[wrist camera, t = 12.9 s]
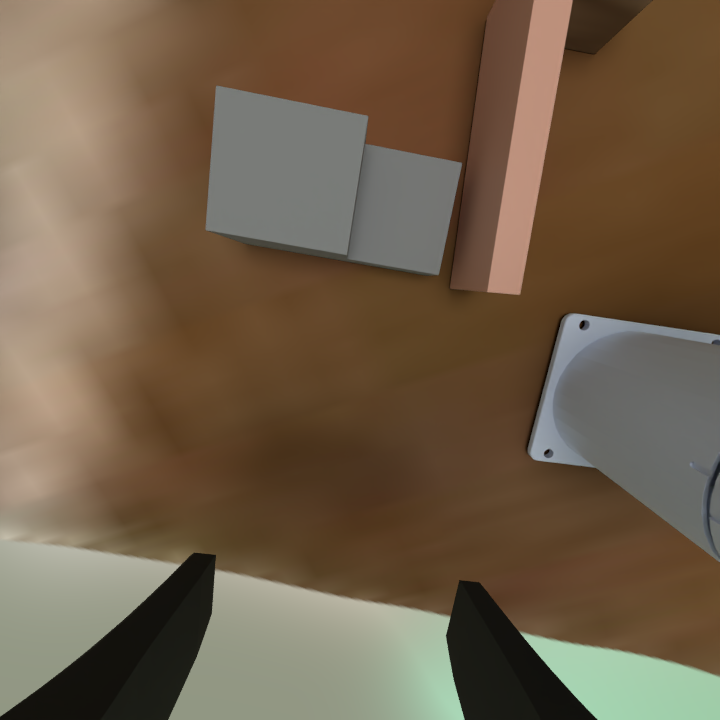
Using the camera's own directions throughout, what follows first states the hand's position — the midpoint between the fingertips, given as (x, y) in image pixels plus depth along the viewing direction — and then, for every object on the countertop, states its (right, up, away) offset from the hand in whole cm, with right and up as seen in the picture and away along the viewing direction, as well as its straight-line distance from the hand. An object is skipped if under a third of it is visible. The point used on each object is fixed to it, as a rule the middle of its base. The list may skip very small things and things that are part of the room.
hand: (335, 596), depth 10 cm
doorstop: (0, +14, +7) cm, 16 cm away
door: (+6, +16, +6) cm, 18 cm away
